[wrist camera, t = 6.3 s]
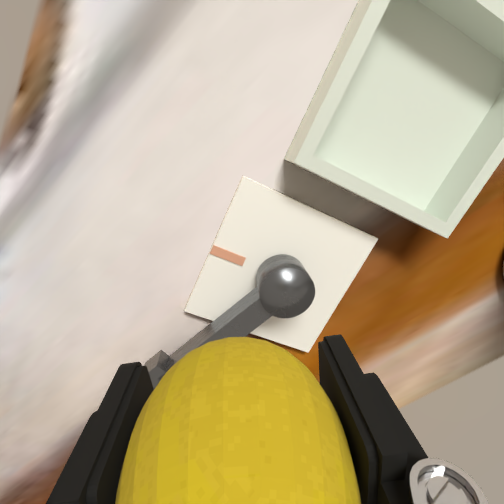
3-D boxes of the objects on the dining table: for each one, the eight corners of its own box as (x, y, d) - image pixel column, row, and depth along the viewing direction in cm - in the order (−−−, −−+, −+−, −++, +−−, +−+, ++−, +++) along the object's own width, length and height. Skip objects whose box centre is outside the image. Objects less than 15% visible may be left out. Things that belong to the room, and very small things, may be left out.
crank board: (373, 236, 27) (378, 239, 26) (306, 347, 30) (308, 353, 30) (242, 175, 24) (243, 176, 23) (185, 306, 28) (183, 311, 27)
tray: (525, 64, 23) (576, 52, 20) (420, 226, 27) (447, 238, 24) (378, -43, 20) (410, -79, 16) (284, 159, 24) (293, 162, 20)
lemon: (335, 323, 11) (555, 712, 4) (267, 425, 13) (320, 840, 5) (196, 267, 10) (86, 664, 2) (140, 386, 11) (-30, 849, 4)
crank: (284, 244, 25) (293, 257, 22) (315, 278, 26) (326, 295, 24) (145, 357, 28) (136, 382, 25) (179, 383, 29) (174, 409, 26)
